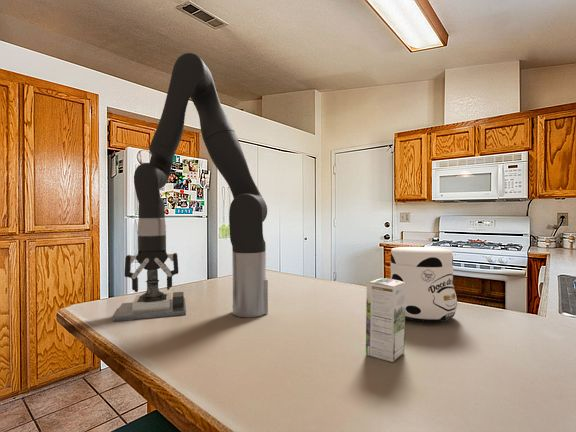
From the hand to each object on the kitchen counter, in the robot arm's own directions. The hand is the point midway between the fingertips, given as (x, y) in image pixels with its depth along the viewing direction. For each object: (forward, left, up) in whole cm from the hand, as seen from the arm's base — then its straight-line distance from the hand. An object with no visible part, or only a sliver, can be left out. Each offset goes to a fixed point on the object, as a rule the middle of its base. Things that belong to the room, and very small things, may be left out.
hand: (152, 290), depth 97 cm
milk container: (-69, +29, -6) cm, 75 cm away
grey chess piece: (0, 0, -5) cm, 5 cm away
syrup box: (-46, +47, -6) cm, 66 cm away
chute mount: (0, 0, -6) cm, 6 cm away
